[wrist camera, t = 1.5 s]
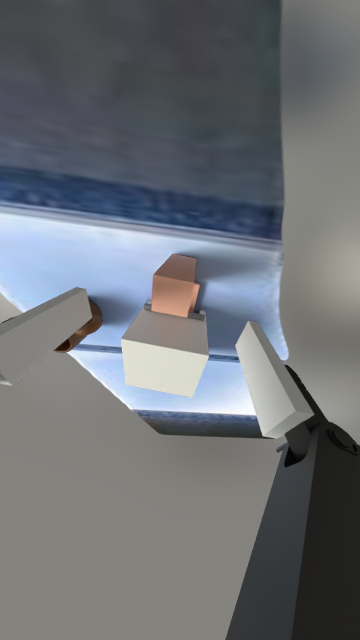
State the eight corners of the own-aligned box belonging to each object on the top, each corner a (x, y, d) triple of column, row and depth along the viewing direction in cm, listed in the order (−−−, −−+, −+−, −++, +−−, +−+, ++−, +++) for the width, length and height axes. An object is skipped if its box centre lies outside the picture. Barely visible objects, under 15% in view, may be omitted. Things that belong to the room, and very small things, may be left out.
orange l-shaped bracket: (163, 252, 23) (137, 271, 13) (205, 260, 23) (210, 285, 13) (156, 336, 34) (139, 382, 24) (185, 341, 34) (180, 390, 24)
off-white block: (147, 295, 28) (120, 333, 19) (206, 307, 28) (210, 351, 19) (146, 339, 35) (125, 384, 25) (194, 348, 35) (192, 397, 25)
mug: (109, 289, 29) (76, 313, 21) (125, 320, 33) (102, 350, 25) (62, 298, 31) (16, 322, 23) (82, 326, 35) (49, 355, 27)
